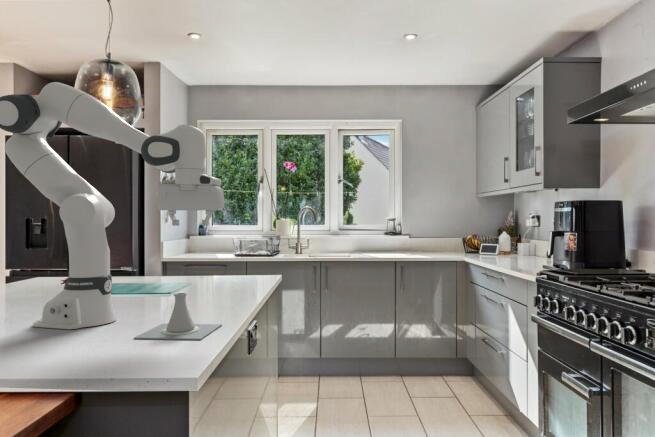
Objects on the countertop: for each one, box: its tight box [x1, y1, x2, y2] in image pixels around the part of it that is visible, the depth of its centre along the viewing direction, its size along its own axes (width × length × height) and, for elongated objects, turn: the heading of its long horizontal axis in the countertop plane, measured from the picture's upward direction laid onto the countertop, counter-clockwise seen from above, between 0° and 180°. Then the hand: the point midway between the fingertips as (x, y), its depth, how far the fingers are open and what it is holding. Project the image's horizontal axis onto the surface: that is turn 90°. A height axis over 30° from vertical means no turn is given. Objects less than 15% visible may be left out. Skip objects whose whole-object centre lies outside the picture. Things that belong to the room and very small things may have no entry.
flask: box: [166, 292, 195, 332], centre depth 124 cm, size 7×7×10 cm
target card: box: [133, 323, 223, 341], centre depth 124 cm, size 18×16×1 cm
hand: (190, 225), depth 135 cm, fingers open, 8 cm apart
